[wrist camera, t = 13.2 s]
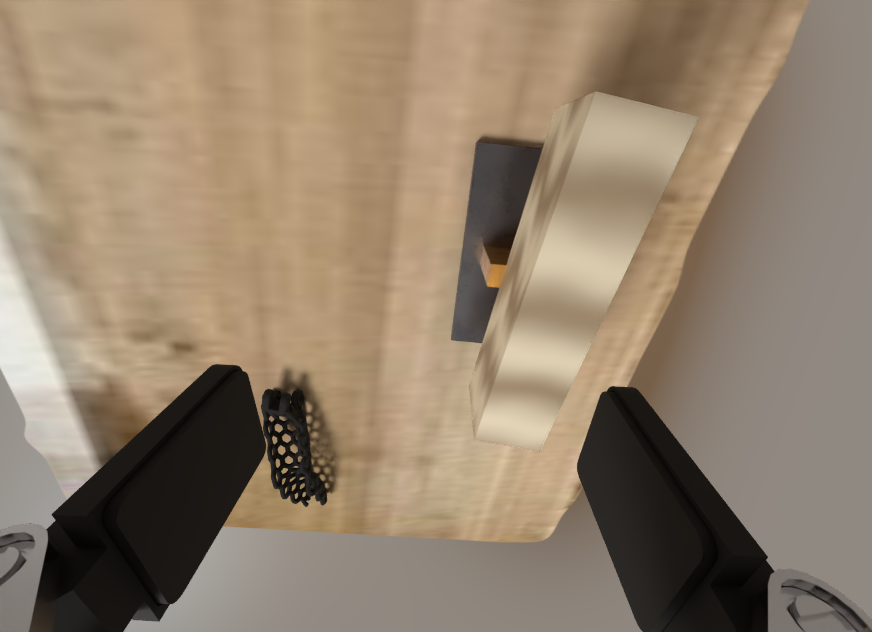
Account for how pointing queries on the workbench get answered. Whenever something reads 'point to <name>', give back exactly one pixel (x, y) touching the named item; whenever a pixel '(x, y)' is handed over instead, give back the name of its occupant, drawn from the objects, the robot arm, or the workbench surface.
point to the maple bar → (570, 257)
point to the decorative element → (294, 412)
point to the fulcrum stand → (490, 231)
